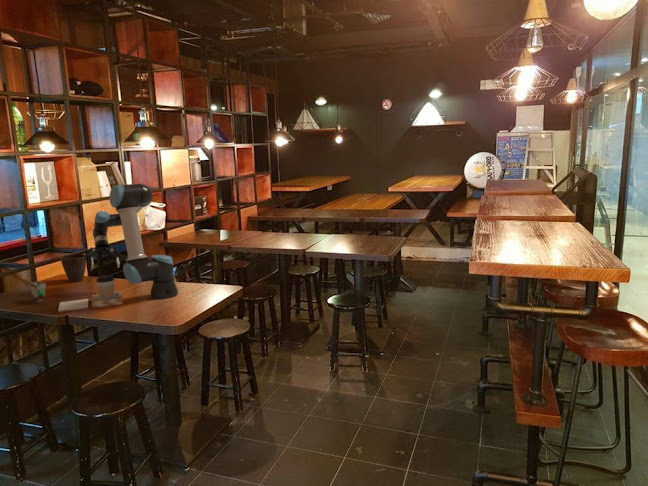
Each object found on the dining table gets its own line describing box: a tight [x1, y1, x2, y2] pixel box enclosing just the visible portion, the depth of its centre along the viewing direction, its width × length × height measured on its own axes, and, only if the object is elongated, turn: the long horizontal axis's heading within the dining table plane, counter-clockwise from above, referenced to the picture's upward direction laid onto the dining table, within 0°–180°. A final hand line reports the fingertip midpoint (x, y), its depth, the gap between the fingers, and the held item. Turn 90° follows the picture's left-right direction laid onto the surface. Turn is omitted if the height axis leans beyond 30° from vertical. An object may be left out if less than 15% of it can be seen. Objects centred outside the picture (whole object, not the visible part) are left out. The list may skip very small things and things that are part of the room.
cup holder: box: [91, 291, 124, 309], centre depth 273 cm, size 15×15×3 cm
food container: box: [29, 281, 47, 304], centre depth 276 cm, size 12×6×10 cm, turn 47°
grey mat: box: [57, 298, 89, 312], centre depth 267 cm, size 14×14×1 cm
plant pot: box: [59, 253, 87, 283], centre depth 316 cm, size 15×15×16 cm
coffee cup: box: [95, 273, 115, 301], centre depth 272 cm, size 9×9×15 cm
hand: (105, 266), depth 280 cm, fingers open, 13 cm apart
